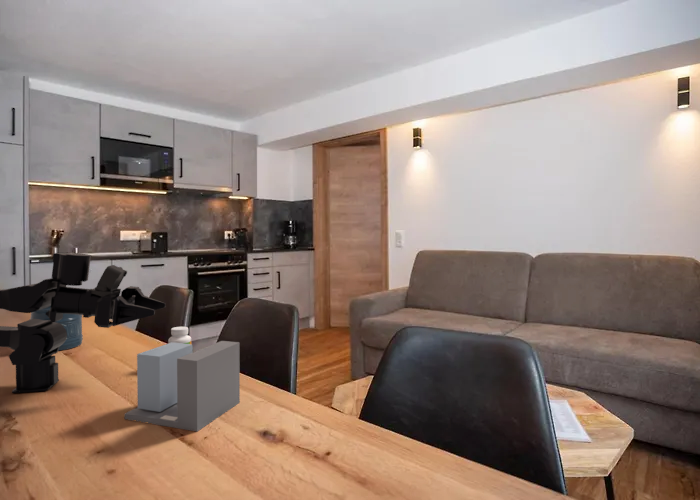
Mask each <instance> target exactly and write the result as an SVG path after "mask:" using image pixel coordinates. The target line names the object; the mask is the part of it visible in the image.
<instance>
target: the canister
mask: <svg viewBox="0 0 700 500" xmlns="http://www.w3.org/2000/svg"><path fill="white" fill-rule="evenodd" d="M50 308H51V306H50V307H47V308H44V309H41V310H38V311H35V312H32V313H30V318H29V319H28V320H31V319H40V320H50V319H49V317H48V316H47V315H46V312H48V311H49V310H50ZM82 318H83V315H75V314H64V313H63V318H62V319H61V320H59V321H56V323H60V324H62V326H63V327H64V328H65V330H66V332H67V338H66V341H65V342H64V343H63V344H62V345H61V346H60V347H59V350H58V352H59V351H65V350H70V349H73V348H76V347H79V346H80V345H82V344H83V339H84V338H83V337H84V336H83V324H82V323H83V319H82Z"/></svg>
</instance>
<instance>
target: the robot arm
mask: <svg viewBox="0 0 700 500" xmlns="http://www.w3.org/2000/svg"><path fill="white" fill-rule="evenodd" d="M91 257H92V255H91V254H87V253H79V252H77V253H75V252H74V253H62V252H54V253H53V255H52V272H51V278H46V279H42V280H41V281H39V282H37V283H32V284H31V283H30V284H27V285H21V286H16V287H12V288H3V289H0V310H4V311H8V312H15V313H22V314H31V313H32V312H35V311H38V310H41V309H44V308H47V307H50V306H51V308H50V310H49V311H48V312H46V315H47V316H48V317H49V319H50V320H40V319H31V320H29V319H28V320H25V321H23V322H20V323H17V324H16V325H17V326H8V325H0V348H8V349H11V350H13V351H12V352H11V353H10V354H8V359H9V361H10V363H11V364H12V366H15V388H14V389H12V390H11V394H17V393H18V394H20V393H31V392H45V391H49V390H50V389H51V388H52V387H54V386H55V385H56V384H57V383H59V381H60V379H59V363H58V362H56V355H57V354H58V352H59V351H60V350H59V347H60V346H61V345H62V344H63V343H64V342H65V341H66V338H67V332H66V330H65V328H64V327H63V326H62V324H60V323H56V321H59V320H61V319H62V318H63V313H64V314H75V315H82V318H85V319H88V318H91V317H94V319H93V320H94V321H93V323H94V324H95V325H96V326H97V327H98V328H107V329H109V328H111V327H116V326H119V325H123V324H126V323H129V322H133V321H137V320H142V319H144V318H148V317H152V316H154V315H155V313H156V311H157V310H162V309H165V308H166V302H162V301H160V300H158V299H154V298H152V297H148V296H146V295H145V294H144V293H143V292H142V289H141V288H140V286H128V287H126V288H124V289H123V290H121V289H122V288H119V287H120V285H121V283H122V282H123V279H124V278H125V277H126V275H127V274H128V270H125V269H123V267H122V266H117V265H115V264H112V265H108V266H107V267H105V269H104V271H103V273H102V274H101V276H100V278H99V280H98V282H97V284H96V287H94V288H80V287H79V286H82V285H83V282H87V281H89V276H90V275H89V273H90V264H91ZM70 286H71V287H70ZM73 286H75V287H73ZM77 286H78V287H77ZM111 320H112V321H111ZM58 350H59V351H58ZM55 354H56V355H55Z"/></svg>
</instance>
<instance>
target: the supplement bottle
mask: <svg viewBox="0 0 700 500" xmlns="http://www.w3.org/2000/svg"><path fill="white" fill-rule="evenodd" d="M170 334H171V336H170V337H169V338H168V340H167V344H169V343H171V342H173V343H183V344H192V337H191V336H190V335H188V334H189V327H188V326H176V327H175V326H174V327H172V328H171V329H170Z"/></svg>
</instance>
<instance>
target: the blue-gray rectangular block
mask: <svg viewBox="0 0 700 500" xmlns="http://www.w3.org/2000/svg"><path fill="white" fill-rule="evenodd" d="M193 350H194V349H193V343H191V344H183V343H173V342H171V343H169V344H168V343H166V344H163V345H159V346H157V347H154V348H152V349H148V350H145V351H143V352H140V353H136V360H137V361H136V367H137V368H136V369H137V370H136V371H137V377H136V378H137V380H136V381H137V385H136V386H137V387H136V388H137V407H138V408H139V409H145V410H151V411H158V412H161V411H163V410H165V409H166V408H168V407H170V406H172V405H174V404H176V403H177V359H178V358H180V357H183V356H185V355H188V354H190V353H193V352H194V351H193Z"/></svg>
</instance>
